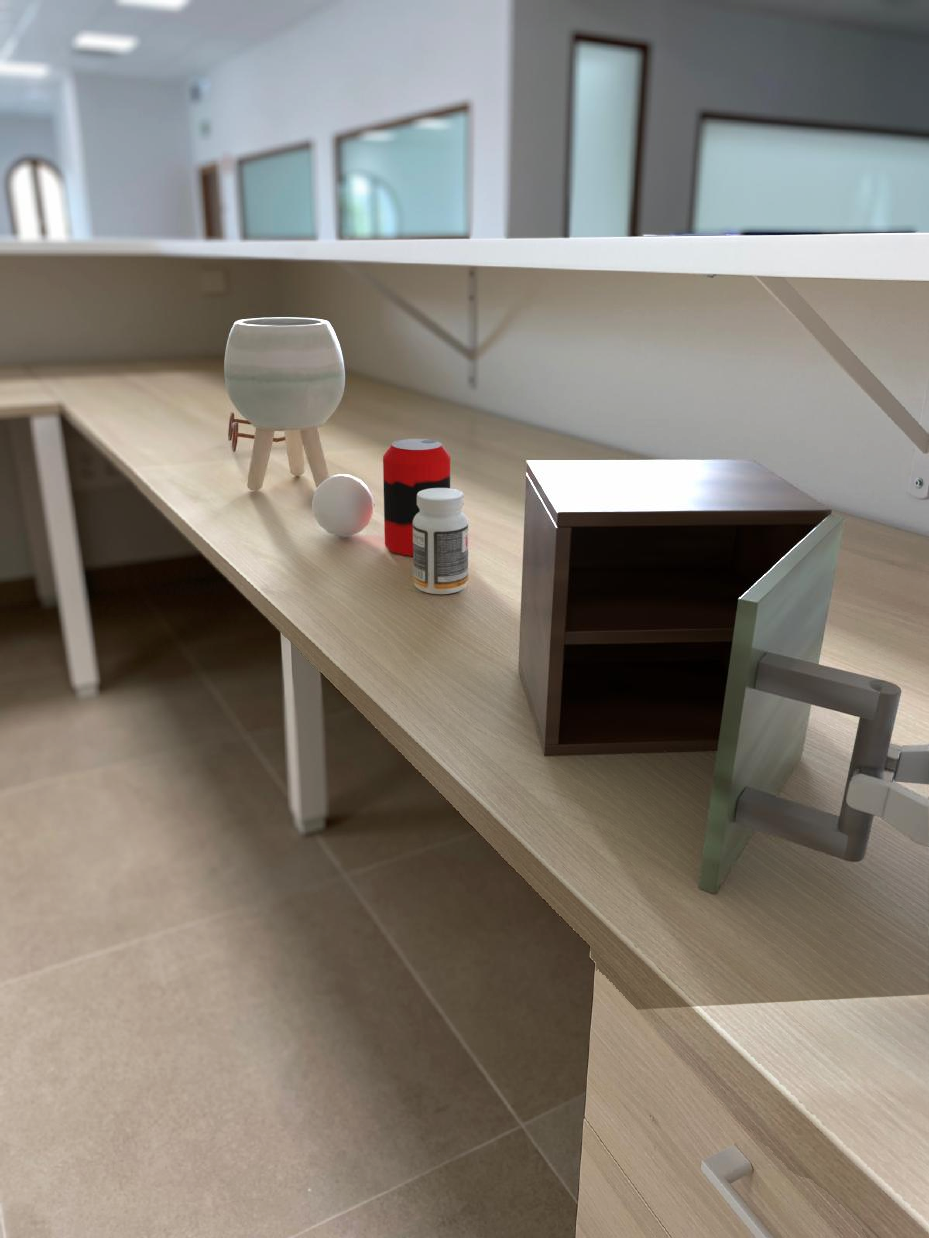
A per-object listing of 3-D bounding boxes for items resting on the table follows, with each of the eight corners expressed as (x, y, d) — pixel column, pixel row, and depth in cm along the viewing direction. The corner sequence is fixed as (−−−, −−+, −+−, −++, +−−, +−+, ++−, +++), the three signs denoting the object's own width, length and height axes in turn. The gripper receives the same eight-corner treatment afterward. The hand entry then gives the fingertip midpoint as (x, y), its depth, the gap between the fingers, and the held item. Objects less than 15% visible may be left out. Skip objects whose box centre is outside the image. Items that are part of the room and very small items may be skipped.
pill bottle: (472, 578, 99) (473, 487, 95) (462, 598, 93) (463, 502, 89) (419, 575, 99) (419, 484, 96) (407, 594, 94) (406, 499, 90)
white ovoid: (383, 540, 110) (381, 480, 107) (321, 547, 107) (318, 485, 105) (360, 517, 119) (358, 460, 116) (302, 523, 116) (299, 465, 113)
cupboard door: (904, 786, 63) (963, 536, 56) (840, 943, 49) (907, 636, 42) (787, 751, 67) (829, 514, 60) (697, 887, 53) (738, 598, 46)
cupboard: (790, 750, 67) (832, 509, 60) (543, 757, 66) (557, 512, 59) (725, 665, 80) (753, 459, 73) (518, 670, 78) (526, 460, 71)
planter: (299, 466, 143) (291, 314, 134) (372, 484, 133) (367, 322, 125) (211, 485, 132) (195, 321, 123) (283, 507, 122) (271, 330, 113)
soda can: (463, 545, 109) (464, 444, 104) (419, 561, 103) (418, 455, 99) (415, 532, 113) (415, 434, 108) (371, 547, 108) (368, 444, 103)
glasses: (227, 439, 160) (225, 410, 158) (303, 435, 163) (302, 407, 162) (233, 456, 148) (230, 425, 146) (315, 452, 152) (313, 421, 150)
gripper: (1181, 706, 48) (896, 644, 55) (1240, 945, 32) (826, 817, 39) (1143, 806, 51) (875, 736, 57) (1180, 1075, 35) (801, 935, 41)
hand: (855, 770), depth 48 cm, fingers closed on cupboard door, 2 cm apart
